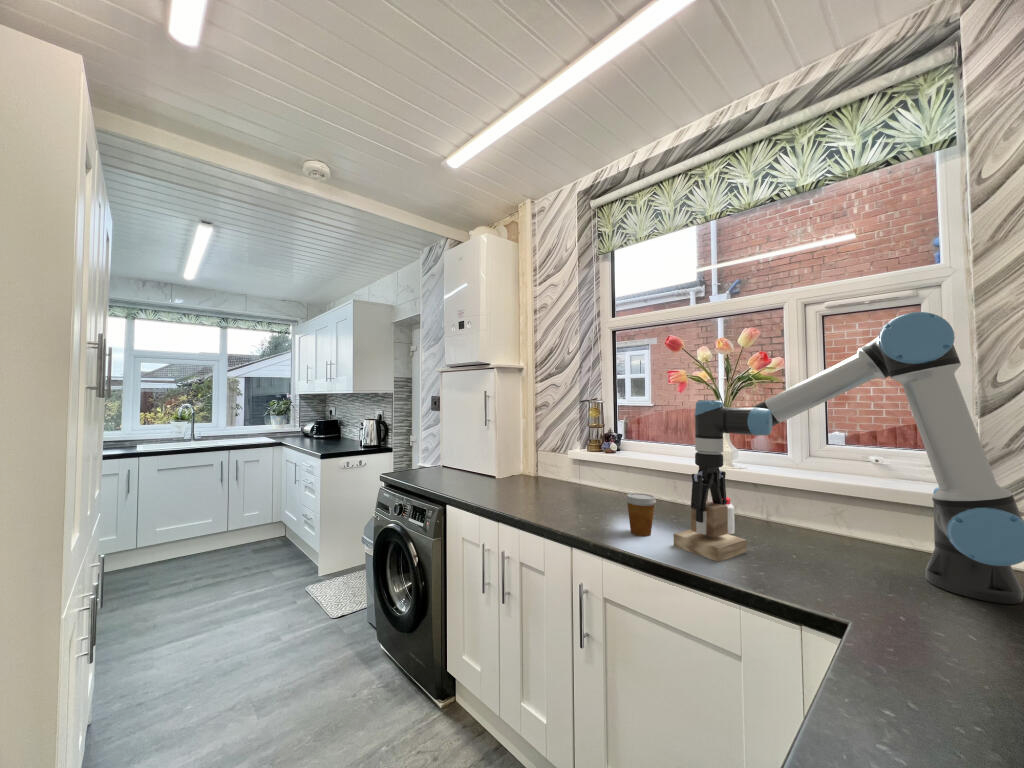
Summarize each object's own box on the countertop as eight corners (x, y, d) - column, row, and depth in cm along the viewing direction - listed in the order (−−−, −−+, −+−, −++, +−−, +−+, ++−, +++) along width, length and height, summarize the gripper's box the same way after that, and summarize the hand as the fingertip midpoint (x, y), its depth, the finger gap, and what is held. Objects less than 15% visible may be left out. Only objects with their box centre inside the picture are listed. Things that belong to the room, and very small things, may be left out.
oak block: (746, 553, 117) (746, 539, 117) (719, 563, 109) (718, 548, 110) (701, 539, 129) (701, 526, 129) (673, 547, 121) (673, 533, 121)
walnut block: (727, 533, 118) (727, 505, 119) (713, 537, 115) (713, 508, 115) (705, 527, 124) (705, 500, 125) (691, 530, 120) (691, 503, 121)
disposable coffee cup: (652, 529, 137) (652, 493, 138) (659, 538, 127) (659, 499, 128) (623, 528, 138) (623, 492, 138) (628, 537, 128) (628, 498, 129)
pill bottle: (732, 536, 131) (731, 501, 132) (706, 531, 136) (706, 497, 136) (736, 530, 137) (735, 497, 138) (711, 525, 142) (711, 494, 143)
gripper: (715, 449, 129) (716, 522, 128) (676, 452, 118) (676, 532, 117) (739, 452, 123) (740, 529, 122) (700, 455, 112) (701, 540, 111)
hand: (709, 531), depth 119 cm, fingers closed on walnut block, 7 cm apart
